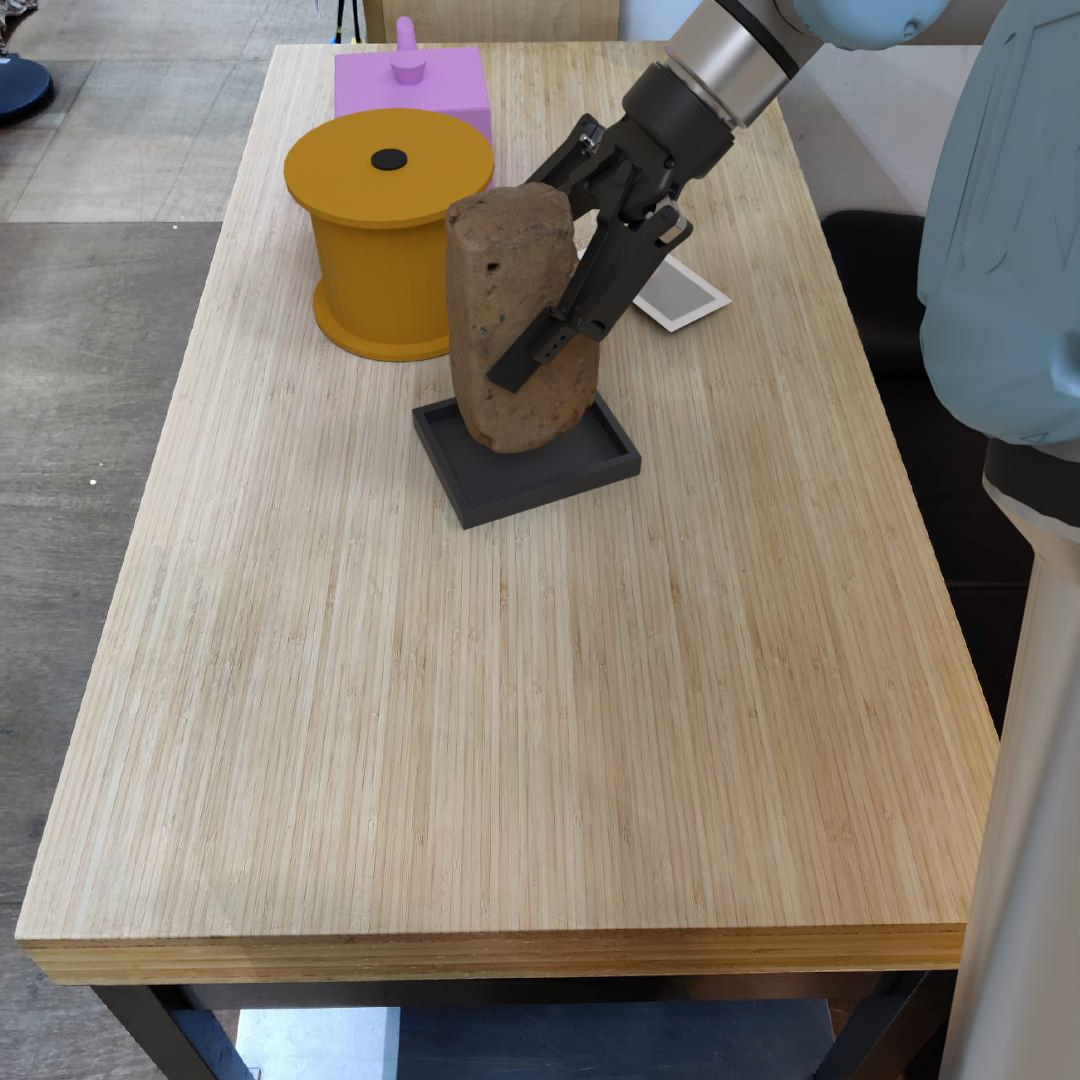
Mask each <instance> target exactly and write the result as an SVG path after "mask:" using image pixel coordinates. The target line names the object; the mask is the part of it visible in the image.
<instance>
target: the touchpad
mask: <svg viewBox="0 0 1080 1080" xmlns="http://www.w3.org/2000/svg"><path fill="white" fill-rule="evenodd" d="M586 249H587V247H585V248H582V249H580V250H577V254H578V258H579V260H581V258H582V256H583V254H584V252H585V251H586ZM732 302H733V300H732V299H731V298H730V297H728V296H727V295H726V294H724V293H723V292H721V291H720V290H719V289H717V287H715V286H713V285H712V284H710V283H709V282H708V281H707V280H705V279H704V278H702V277H701V276H700V275H698V274H697V273H696V272H695V271H693V270H691V269H690V267H687V266H686V265H685V264H683V263H682V262H681V261H680V260H678V259H677V258H675V257H674V256H672V255H671V254H670V253H668V255H667V256H666V257H665V259H664V260H663V261H662V263H661V264H660V265H659V267H658V268H657V269H656V271H655V272H654V273H653V275H652V276H651V277H650V279H649V280H648V281H647V283H646V284H645V285H644V287H643V288H642V289H641V291H640V292H639V293H638V295H637V296H636V297H635V299H634V300H633V301H632V303H634V305H636V306H637V307H638V308H640V309H641V310H642V311H643V312H645V313H646V314H647V315H649V316H650V317H651V318H652V319H654V321H656V322H657V323H658V324H659V325H661V326H662V327H664V328H665V330H667V331H668V332H670V333H673V332H674V331H677V330H679V329H681V328H683V327H685V326H687V325H689V324H690V323H693V322H694V321H696V320H698V319H700V318H703V317H704V316H706V315H708V314H711V313H712V312H715V311H717V310H718V309H721V308H723V307H724V306H726V305H729V304H730V303H732Z"/></svg>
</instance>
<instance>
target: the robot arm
mask: <svg viewBox="0 0 1080 1080" xmlns="http://www.w3.org/2000/svg"><path fill="white" fill-rule="evenodd" d="M825 44H832V45H833V47H835V48H836V49H839V50H843V51H847V52H854V51H859V50H863V51H873V52H876V51H884V50H887V49H889V48H894V47H897V46H981V47H980V50H979V51H978V54H977V55H976V58H975V60H974V62H973V65H972V67H971V70H970V71H969V74H968V77H967V78H966V81H965V84H964V85H963V88H962V91H961V94H960V96H959V99H958V102H957V103H956V107H955V109H954V111H953V114H952V118H951V121H950V123H949V126H948V129H947V132H946V135H945V139H944V141H943V145H942V148H941V152H940V154H939V158H938V162H937V165H936V171H935V173H934V178H933V181H932V184H931V189H930V193H929V197H928V203H927V207H926V212H925V217H924V224H923V229H922V230H923V231H922V237H921V245H920V250H919V257H918V266H917V285H916V296H917V299H918V300H919V301H920V303H921V304H923V306H924V307H925V313H924V316H923V319H922V322H921V325H920V327H919V342H920V349H921V354H922V359H923V366H924V369H925V372H926V374H927V376H928V379H929V381H930V383H931V386H932V389H933V391H934V394H935V396H936V397H937V399H938V401H939V402H940V403H941V405H942V406H943V407H944V408H946V410H948V411H949V413H950V414H951V415H952V416H953V417H954V419H956V420H957V421H959V422H960V423H962V424H963V425H965V426H966V427H969V428H970V429H973V430H976V431H977V432H980V433H982V434H983V435H984V436H986V437H987V438H988V440H987V447H986V454H985V459H984V466H983V473H982V478H981V479H982V487H983V488H984V490H985V491H986V493H987V494H988V496H989V498H990V499H991V500H992V501H993V502H994V503H995V505H997V507H998V508H999V509H1000V511H1001V512H1002V513H1003V514H1004V516H1006V517H1007V519H1009V521H1010V522H1011V523H1012V524H1013V525H1014V527H1015V528H1016V529H1017V530H1018V531H1019V532H1020V534H1021V535H1022V536H1023V537H1024V539H1026V540H1027V542H1028V543H1029V544H1030V545H1031V547H1032V550H1033V552H1034V558H1033V562H1032V569H1031V574H1030V578H1029V579H1030V580H1029V585H1028V590H1027V596H1026V600H1025V606H1024V613H1023V618H1022V623H1021V629H1020V634H1019V639H1018V645H1017V650H1016V655H1015V660H1014V665H1013V666H1014V667H1013V672H1012V677H1011V682H1010V688H1009V694H1008V700H1007V704H1006V710H1005V715H1004V721H1003V726H1002V732H1001V736H1000V742H999V748H998V753H997V759H996V764H995V769H994V774H993V779H992V780H993V781H992V785H991V792H990V797H989V803H988V808H987V814H986V818H985V824H984V831H983V833H982V834H983V835H982V840H981V846H980V851H979V856H978V863H977V867H976V872H975V878H974V883H973V889H972V894H971V900H970V905H969V911H968V915H967V916H968V917H967V920H966V921H967V922H966V926H965V933H964V939H963V942H962V949H961V955H960V960H959V965H958V971H957V976H956V981H955V987H954V993H953V998H952V1004H951V1008H950V1009H951V1010H950V1015H949V1019H948V1026H947V1030H946V1035H945V1042H944V1046H943V1052H942V1056H941V1058H942V1059H941V1063H940V1069H939V1074H938V1080H1080V0H702V1H701V2H700V3H699V5H698V6H697V7H696V8H695V9H694V11H692V13H691V14H690V15H689V16H688V18H686V20H685V21H684V22H683V23H682V24H681V26H680V27H679V28H678V29H677V31H676V32H675V33H674V34H673V35H672V36H671V37H670V39H669V40H668V41H667V42H666V43H665V45H664V51H665V54H666V55H667V58H666V59H665V61H664V62H663V63H662V62H661V61H660V60H659V59H658V60H657V61H656V62H654V61H652V62H651V63H650V64H649V65H648V67H646V69H645V70H644V71H643V73H642V74H641V75H640V76H639V77H638V79H637V80H636V81H635V82H634V83H633V84H632V85H631V87H630V88H629V90H627V92H626V93H625V94H624V95H623V97H622V99H621V107H622V109H623V111H624V112H625V113H624V114H623V116H622V117H621V118H620V119H619V120H618V121H616V122H615V123H613V124H611V125H610V126H608V127H607V126H605V125H603V124H602V123H601V122H600V121H599V120H597V119H596V118H595V117H594V116H593V115H592V114H591V113H589V112H586V113H583V114H582V115H581V116H580V117H579V118H578V120H577V122H576V123H575V125H574V126H573V129H572V130H571V132H570V133H569V135H568V136H567V138H566V139H565V140H564V141H563V142H562V143H561V144H560V145H559V146H558V147H557V148H556V149H555V150H554V152H553V153H551V155H550V156H548V157H547V159H545V161H543V163H542V164H540V166H539V167H538V168H537V169H536V170H535V171H534V172H533V173H532V174H531V175H530V176H529V177H527V179H526V180H525V181H524V182H523V183H522V184H526V183H531V182H540V183H545V184H546V185H550V186H552V187H553V188H555V189H556V190H558V191H562V192H563V193H565V194H566V195H567V196H568V200H569V203H570V207H571V211H572V215H573V223H574V222H576V221H577V220H579V219H580V218H582V217H583V216H585V215H586V214H588V213H590V212H591V211H592V210H598V212H597V215H596V219H595V220H596V224H597V227H596V229H595V231H594V233H593V234H592V237H591V238H590V240H589V242H588V245H587V247H586V248H587V249H586V251H585V252H584V254H583V256H582V258H581V260H580V259H579V260H580V262H579V264H578V266H577V268H576V270H575V273H574V276H573V277H572V278H571V280H570V282H569V284H568V286H567V288H566V290H565V292H564V294H563V296H562V298H561V300H560V302H559V304H558V306H557V308H556V307H553V306H551V305H548V308H547V307H545V308H544V309H543V310H542V311H541V312H540V314H539V315H538V316H537V317H536V318H535V319H534V320H533V322H532V323H531V324H530V325H529V326H528V327H527V328H526V329H525V331H524V332H523V333H522V334H521V335H520V336H519V337H518V339H517V340H516V341H515V342H514V343H513V344H512V345H511V347H510V348H509V349H508V350H507V351H506V352H505V353H504V354H503V356H502V357H501V358H500V359H499V360H498V361H497V362H496V364H495V365H494V366H493V367H492V368H491V369H490V370H489V372H488V373H487V374H486V375H487V377H488V379H489V381H491V382H493V383H495V384H497V385H499V386H501V387H503V388H505V389H507V390H509V391H511V392H513V393H516V392H517V391H518V390H519V389H520V388H521V387H522V386H523V385H524V384H525V382H526V381H527V380H528V379H529V378H530V377H531V376H532V375H533V374H534V372H535V371H536V370H537V369H538V368H539V367H540V366H541V365H542V364H543V365H547V364H548V363H550V362H551V361H552V360H553V359H554V358H555V357H556V355H558V354H559V353H560V351H561V350H562V349H563V348H564V347H565V346H566V345H567V344H568V343H569V342H570V340H571V339H572V338H573V337H574V336H576V335H578V334H583V335H585V336H587V337H589V338H591V339H593V340H595V341H597V342H600V343H601V342H602V341H603V340H605V339H606V337H607V336H608V335H609V334H610V332H611V331H612V330H613V328H614V327H615V326H616V324H617V323H618V321H619V320H620V319H621V318H622V316H623V315H624V314H625V312H626V311H627V310H628V308H629V307H630V305H631V304H632V303H633V302H632V301H633V300H634V299H635V297H636V296H637V295H638V293H639V292H640V291H641V289H642V288H643V287H644V285H645V284H646V283H647V281H648V280H649V279H650V277H651V276H652V275H653V273H654V272H655V271H656V269H657V268H658V267H659V265H660V264H661V263H662V261H663V260H664V259H665V257H666V256H667V255H668V253H669V254H670V253H671V252H673V250H675V249H676V248H677V247H678V246H680V245H681V244H682V243H683V242H685V241H686V240H687V239H688V238H690V236H691V235H692V234H693V232H694V225H693V222H691V221H690V220H689V219H687V218H686V216H684V215H683V214H682V211H681V210H680V207H679V206H678V204H677V203H678V201H679V199H680V196H681V194H682V191H683V190H684V189H685V186H686V184H687V183H688V182H689V181H692V180H693V179H694V180H702V179H704V178H705V177H706V176H707V175H708V174H709V173H710V172H711V171H712V170H713V169H714V167H715V166H717V164H718V163H719V162H720V161H721V159H723V157H724V156H725V155H726V154H727V153H728V152H729V151H730V150H731V149H732V148H733V146H734V145H735V142H734V140H736V136H735V135H734V134H733V133H732V132H733V131H735V130H736V128H737V127H739V128H740V129H741V130H746V129H747V130H748V129H749V128H750V127H751V126H752V124H753V123H754V122H755V121H756V120H757V119H758V118H759V117H760V115H762V113H763V112H764V111H765V110H766V109H767V108H768V107H769V106H770V104H771V103H772V102H774V100H775V99H776V98H777V97H778V96H779V94H781V92H782V91H783V90H784V89H785V88H786V86H787V85H789V84H790V82H792V81H793V79H794V78H795V77H796V75H798V73H799V72H800V71H801V70H802V69H803V68H804V66H805V65H806V64H807V63H808V62H809V61H810V60H811V59H812V58H813V57H814V56H815V55H816V54H817V52H818V51H819V50H821V48H822V47H823V46H824V45H825ZM626 225H627V226H626ZM578 305H580V308H579V310H577V309H575V307H576V306H578ZM595 319H597V320H595Z"/></svg>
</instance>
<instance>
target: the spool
mask: <svg viewBox="0 0 1080 1080" xmlns="http://www.w3.org/2000/svg"><path fill="white" fill-rule="evenodd" d="M495 168H496V167H495V156H494V149H493V147H492V148H491V146H490V144H489V142H488V140H487V139H486V138H485V137H484V136H483V135H482V134H481V133H480V132H479V131H478V130H477V129H475V128H474V127H472V126H471V125H469V124H468V123H466V122H464V121H461V120H459V119H457V118H454V117H452V116H449V115H445V114H442V113H438V112H434V111H428V110H421V109H410V108H386V109H374V110H368V111H361V112H356V113H353V114H349V115H345V116H341V117H338V118H336V119H334V118H333V119H331V120H328V121H325V122H323V123H321V124H319V125H318V126H316V127H314V128H313V129H311V130H309V131H308V132H306V133H305V134H303V135H302V136H301V137H300V138H298V139H297V140H296V142H295V143H294V144H293V145H292V147H290V149H289V150H288V152H287V155H286V157H285V159H284V162H283V171H282V173H283V178H284V181H285V186H286V189H287V192H288V193H289V195H290V196H291V197H292V199H293V201H294V202H295V203H296V204H298V205H299V206H300V207H301V208H302V209H304V210H305V211H306V212H308V213H309V216H310V221H311V226H312V232H313V235H314V240H315V241H314V242H315V246H316V251H317V255H318V261H319V265H320V272H321V277H320V279H319V280H318V281H317V282H316V285H315V288H314V291H313V293H312V305H311V307H312V311H313V315H314V318H315V322H316V324H317V326H318V328H319V329H320V331H321V333H322V335H324V336H325V337H326V338H327V339H328V340H329V341H330V342H332V343H333V344H334V345H335V346H337V347H339V348H341V349H342V350H344V351H346V352H348V353H351V354H353V355H357V356H359V357H362V358H366V359H372V360H377V361H380V362H396V363H397V362H398V363H402V362H415V361H424V360H427V359H433V358H437V357H441V356H443V355H447V354H450V352H449V323H448V314H447V302H446V275H445V262H446V259H445V250H446V246H447V235H446V227H445V215H446V211H447V209H448V207H449V206H450V204H452V203H454V202H456V201H458V200H460V199H462V198H465V197H467V196H470V195H473V194H476V193H480V192H483V191H486V189H487V187H488V186H489V184H490V182H491V181H492V178H493V179H494V173H495Z"/></svg>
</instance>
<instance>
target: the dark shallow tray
mask: <svg viewBox="0 0 1080 1080" xmlns="http://www.w3.org/2000/svg"><path fill="white" fill-rule="evenodd" d="M411 414H412V415H411V416H412V422H413V428H414V430H415V432H416V434H417V436H418V438H419V440H420V442H421V444H422V447H423V448H424V450H425V452H426V455H427V457H428V460H429V461H430V463H431V465H432V467H433V469H434V472H435V473H436V475H437V477H438V480H439V482H440V484H441V486H442V488H443V491H444V492H445V494H446V497H447V499H448V501H449V503H450V505H451V506H452V509H453V511H454V513H455V515H456V517H457V519H458V521H459V523H460V525H461V527H462V529H463V530H464V531H465V530H469V529H471V528H475V527H478V526H481V525H484V524H488V523H491V522H493V521H497V520H501V519H504V518H506V517H509V516H512V515H516V514H519V513H523V512H525V511H529V510H531V509H535V508H538V507H541V506H544V505H548V504H550V503H553V502H557V501H560V500H563V499H565V498H566V499H567V498H569V497H573V496H575V495H579V494H582V493H586V492H588V491H593V490H595V489H597V488H601V487H604V486H607V485H610V484H613V483H616V482H620V481H623V480H626V479H629V478H632V477H636V476H639V475H640V474H641V468H642V459H643V457H642V455H641V454H640V451H639V450H638V449H637V447H636V446H635V444H634V442H632V441H633V440H632V439H631V437H629V435H628V434H627V432H626V431H625V429H624V427H623V426H622V425H621V423H620V421H619V420H618V418H617V417H616V415H614V412H613V411H612V409H611V408H610V406H609V405H608V403H607V402H606V401H605V399H604V398H603V396H602V395H601V393H600V391H599V390H598V389H596V394H595V399H594V402H593V404H592V405H591V406H590V407H589V408H588V409H587V411H586V413H585V414H584V415H583V416H582V418H581V420H580V422H579V423H577V425H576V426H575V427H574V428H573V429H572V430H570V431H568V432H566V433H565V434H563V435H559V436H556V437H555V438H554V439H553V440H551V441H549V442H548V443H546V444H544V445H543V446H541V447H538V448H535V449H532V450H527V451H523V452H517V453H504V454H503V453H497V452H494V451H493V450H492V449H490V448H489V447H487V446H486V445H485V444H480V443H479V442H477V441H476V440H475V439H474V438H473V437H472V435H471V434H470V433H469V431H468V429H467V426H466V424H465V421H464V419H463V417H462V414H461V412H460V409H459V406H458V402H457V399H456V396H453V397H450V398H446V399H442V400H439V401H435V402H431V403H428V404H425V405H421V406H418V407H414V408H412V409H411Z"/></svg>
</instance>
